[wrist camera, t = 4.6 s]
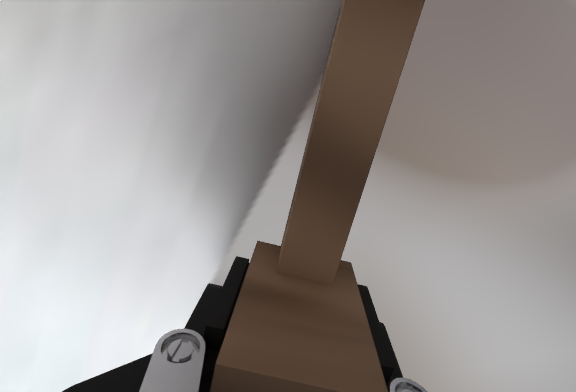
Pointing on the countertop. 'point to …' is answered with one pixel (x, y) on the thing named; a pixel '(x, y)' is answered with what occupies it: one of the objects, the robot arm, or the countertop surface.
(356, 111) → the crook
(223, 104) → the countertop surface
